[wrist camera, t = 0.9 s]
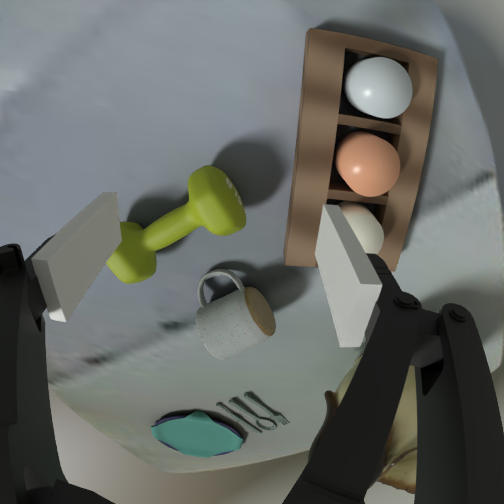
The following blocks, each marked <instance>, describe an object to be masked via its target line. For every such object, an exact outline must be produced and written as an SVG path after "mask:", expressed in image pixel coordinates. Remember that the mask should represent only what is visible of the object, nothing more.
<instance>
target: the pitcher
mask: <svg viewBox="0 0 504 504" xmlns="http://www.w3.org/2000/svg"><path fill="white" fill-rule="evenodd" d="M362 355H363V354H362ZM362 355H361V356H360V357H359V358H358V359H357V361H356V362H355V364H354V367H353V368H352V369H351V370H350V371H349V372H348V373H347V375H346V376H345V377H344V378H343V380H342V381H341V383H340V384H339V386H338V388H337V389H336V392H335V393H333V392H332V391H326V392H325V399H326V403H327V413H326V417H325V420H324V423H323V425H322V427H321V429H320V430H319V432H318V434H317V435H316V437H315V439H314V441H313V443H312V445H311V448H310V451H309V455H308V462H309V460H310V459H311V457H312V455H313V453H314V452H315V450H316V448H317V446H318V444H319V443H320V441H321V439H322V437H323V435H324V434H325V432H326V430H327V428H328V426H329V424H330V422H331V420H332V418H333V417H334V415H335V413H336V411H337V409H338V407H339V405H340V403H341V401H342V399H343V397H344V395H345V393H346V390H347V388H348V386H349V384H350V382H351V380H352V378H353V375H354V373H355V371H356V369H357V367H358V364H359V362H360V360H361V358H362ZM416 469H417V401H416V381H415V367H414V366H411V365H410V366H409V370H408V374H407V378H406V381H405V385H404V389H403V392H402V396H401V399H400V403H399V406H398V409H397V412H396V415H395V419H394V422H393V425H392V428H391V431H390V434H389V436H388V439H387V442H386V445H385V448H384V450H383V453H382V456H381V458H380V461H379V463H378V466H377V468H376V471H375V473H374V476H373V478H372V480H371V483H370V485H369V487H368V489H369V488H370V487H371V486H372V485H373V484H374V483H375V482H376V481H378V482H381V483H382V484H386V485H389V486H392V487H394V488H396V489H401V490H405V491H407V492H408V493H411V494H415V487H416Z"/></svg>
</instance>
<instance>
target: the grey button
mask: <svg viewBox="0 0 504 504" xmlns="http://www.w3.org/2000/svg"><path fill="white" fill-rule="evenodd" d="M343 89H344V93H345V96H346V98H347V99H348V101H349V102H350V104H351V105H352V106H353V107H355V108H356V109H357V110H359V111H361V112H364V113H367V114H370V115H373V116H376V117H379V118H393V117H396V116H398V115H400V114H401V113H403V112H404V111H405V110H406V109H407V107H408V106H409V104H410V102H411V99H412V83H411V80H410V77H409V75H408V73H407V72H406V70H405V69H404V68H403V67H402V66H401V65H400V64H399V63H397V62H396V61H394V60H392V59H389V58H385V57H375V58H370V59H364V60H360V61H357V62H355V63H354V64H352V65H351V66H350V67H349V68H348V70H347V71H346V73H345V76H344V80H343Z"/></svg>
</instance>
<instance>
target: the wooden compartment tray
mask: <svg viewBox="0 0 504 504" xmlns="http://www.w3.org/2000/svg"><path fill="white" fill-rule="evenodd" d="M345 52H350V53H355V54H360V55H364V56H369V57H373V58H375V57H385V58H389V59H392V60H394V61H396V62H397V63H399V64H400V65H401V66H402V67H403V68H404V69H405V70H406V72H407V73H408V75H409V77H410V80H411V83H412V99H411V102H410V104H409V106H408V107H407V109H406V110H405V111H404V112H403V113H401V114H400V115H398V116H396V117H393V118H392V119H391V122H389V121H384V120H379V119H374V118H368V117H363V116H357V115H351V114H345V113H339V105H340V96H341V86H342V76H343V66H344V54H345ZM437 69H438V59H437V58H434V57H431V56H428V55H425V54H422V53H419V52H416V51H412V50H409V49H406V48H402V47H399V46H395V45H392V44H388V43H384V42H380V41H376V40H372V39H368V38H363V37H359V36H354V35H349V34H344V33H339V32H333V31H327V30H321V29H314V28H310V29H309V30H308V31H307V32H306V39H305V52H304V65H303V76H302V88H301V99H300V109H299V120H298V130H297V140H296V149H295V159H294V168H293V177H292V186H291V195H290V203H289V212H288V220H287V228H286V236H285V244H284V260H285V265H289V266H306V267H318V263H317V260H316V256H315V250H316V244H317V239H318V233H319V227H320V221H321V215H322V209H323V204H326V201H327V198H329V199H339V200H348V201H357V202H366V203H374V204H376V208H375V212H374V217H375V218H376V220H377V221H378V222H379V224H380V225H381V227H382V229H383V233H384V241H383V245H382V248H381V250H380V251H379V253H378V254H377V255H378V256H379V257H380V258H382V259H383V260H384V261H385V263H386V265H387V266H388V269H389V270H390V271H394V272H395V270H396V267H397V264H398V261H399V257H400V254H401V251H402V247H403V244H404V241H405V237H406V234H407V230H408V226H409V223H410V219H411V215H412V211H413V207H414V203H415V199H416V195H417V191H418V186H419V182H420V178H421V173H422V168H423V163H424V158H425V153H426V148H427V142H428V137H429V131H430V125H431V118H432V112H433V104H434V97H435V88H436V79H437ZM337 124H342V125H349V126H355V127H361V128H367V129H373V130H378V131H383V132H389V139H388V143H390V144H391V145H392V146H393V147H394V148H395V150H396V152H397V153H398V156H399V159H400V173H399V176H398V179H397V181H396V183H395V184H394V185H393V187H392V188H391V189H390V190H388V191H387V192H385V193H384V194H382V195H379V196H374V197H367V196H363V195H360V194H358V193H356V192H355V191H353V190H352V189H351V188H350V186H349V185H348V184H346V183H337V182H329V181H330V174H331V168H332V161H333V153H334V146H335V138H336V130H337Z"/></svg>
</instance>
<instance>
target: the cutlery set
mask: <svg viewBox="0 0 504 504" xmlns="http://www.w3.org/2000/svg"><path fill="white" fill-rule="evenodd" d="M244 397H245V398H247V399H248V400H250V401H251V402H253V403H254V404H256V405H258V406H259V407H261V408H262V409H263V410H265V411H266V412H267V413H268V414H269V415H270V419H271V418H272V419H274V420H276V421H278V422H280V423H282V424H283V425H285V424H287V423H286V422H288V423H290V422H289V421H287V420H286V419H285V418H284V417H283V416H282V415H281V414H279V413H274V412H272V411H271V410H269V409H268V408H267V407H266V406H265V405H263V404H262V403H261V402H259V401H258V400H257V399H255V398H254V397H252V396H251V395H250V394H249V393H248V392H247V393H244ZM229 403H230V404H232V405H233V406H235V407H237V408H238V409H240V410H241V411H243V412H245V413H247V414H249V415H250V416H252V417H254V418H256V424H257V425H258V426H259V427H260V428H262V429H265V430H274V429H276V425H275V424H274V423H273V422H272V421H271V420H268V419H264V418H259V417H257V416H255V415H254V414H252V413H251V412H249V411H248V410H246V409H245V408H244V407H242V406H241V405H240V404H238V403H237V402H236V401H235V400H233V399H231V400H229ZM216 406H219V407H220V408H222V409H223V410H225V411H226V412H227V413H228V414H230V415H231V416H232V417H233V419H236V420H237V422H239V421H240V422H241V423H242V424H243V425H245V426H246V427H248V428H249V429H251V430H253V431H254V432H256V433H262V432H261V431H259V430H258V429H256V428H255V427H253V426H252V425H250V424H249V423H247V422H246V421H244V420H243V419H242V417H239V416H238V415H235V414H233V413H231V412H230V411H228V410H227V409H225V408H224V407H223V406H221V405H220V404H219V402H218V403H216ZM260 419H263V420H268V421H270V422H272V423H273V426H272V427H265V426H262V425H260V424H259V423H258V420H260ZM284 420H285V421H286V422H285V421H284ZM281 421H282V422H281ZM283 422H284V423H285V424H284V423H283ZM151 429H152V435H153V436H154V437H155V438H156V439H158V440H159V441H160V442H161V443H163V444H164V445H166V446H168V447H170V448H172V449H174V450H177V451H180V452H181V453H183V454H185V455H191V456H197V457H211V456H216V455H223V454H227V453H230V452H233V451H235V450H238V449H240V448H241V445H242V443H243V440H244V438H241V436H240V433H238V432H237V431H236V430H235V429H234V428H233V427H231V426H229V425H227V424H225V423H222V422H220V421H216V420H213V419H210V418H209V416H208V415H207V414H206V413H204V412H199V411H196V412H193V413H192V414H190V415H189V416H172V417H166V418H163V419H161V420H159V421H157V422H156V424H155V425H154V426H151Z"/></svg>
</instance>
